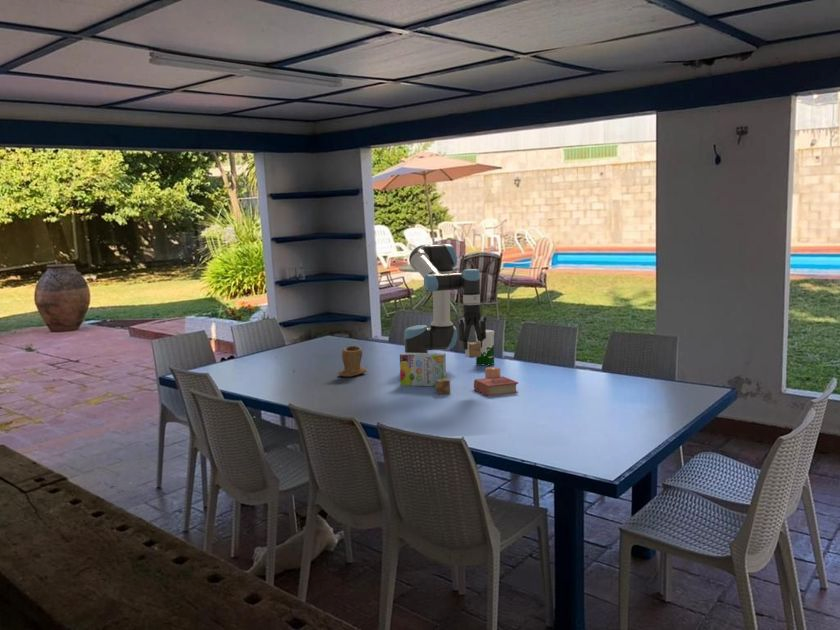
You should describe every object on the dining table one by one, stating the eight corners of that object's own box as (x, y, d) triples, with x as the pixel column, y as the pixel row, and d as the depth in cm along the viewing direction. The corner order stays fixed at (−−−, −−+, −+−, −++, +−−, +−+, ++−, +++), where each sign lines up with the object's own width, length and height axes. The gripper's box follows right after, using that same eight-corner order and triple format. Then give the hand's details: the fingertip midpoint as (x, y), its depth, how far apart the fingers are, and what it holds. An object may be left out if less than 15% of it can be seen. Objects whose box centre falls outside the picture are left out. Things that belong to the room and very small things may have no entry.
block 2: (465, 356, 325) (465, 343, 324) (475, 355, 327) (474, 342, 326) (470, 357, 320) (470, 344, 319) (480, 356, 322) (480, 343, 322)
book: (473, 390, 327) (472, 379, 327) (503, 387, 333) (502, 376, 332) (487, 397, 314) (486, 385, 313) (518, 393, 319) (518, 382, 319)
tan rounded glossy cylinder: (486, 387, 331) (486, 370, 330) (484, 384, 338) (484, 367, 337) (501, 386, 332) (501, 369, 331) (499, 383, 338) (499, 366, 337)
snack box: (446, 384, 340) (446, 352, 338) (443, 387, 334) (443, 355, 332) (403, 383, 345) (402, 351, 343) (400, 385, 340) (399, 354, 338)
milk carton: (482, 362, 392) (481, 325, 389) (496, 363, 386) (496, 326, 384) (473, 364, 385) (473, 327, 382) (488, 366, 379) (487, 328, 377)
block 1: (439, 395, 319) (439, 381, 318) (435, 392, 324) (435, 379, 323) (450, 393, 320) (449, 380, 320) (446, 391, 325) (446, 378, 324)
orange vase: (350, 379, 357) (349, 349, 355) (334, 376, 365) (333, 347, 363) (372, 374, 368) (371, 345, 366) (357, 371, 376) (356, 343, 374)
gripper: (458, 306, 314) (459, 359, 316) (493, 303, 321) (494, 355, 324) (449, 304, 320) (451, 356, 323) (484, 302, 328) (486, 352, 331)
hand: (473, 355), depth 323 cm, fingers closed on block 2, 5 cm apart
